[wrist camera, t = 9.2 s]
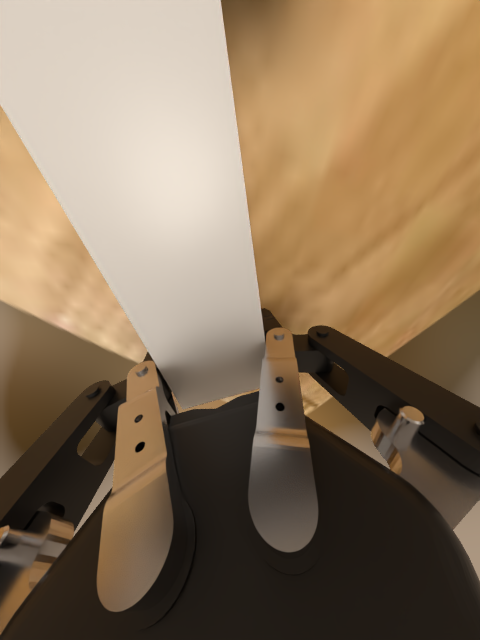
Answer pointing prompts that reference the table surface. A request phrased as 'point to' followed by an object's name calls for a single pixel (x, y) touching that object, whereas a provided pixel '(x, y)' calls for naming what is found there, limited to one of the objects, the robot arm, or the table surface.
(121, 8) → the long white plank
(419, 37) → the table surface
